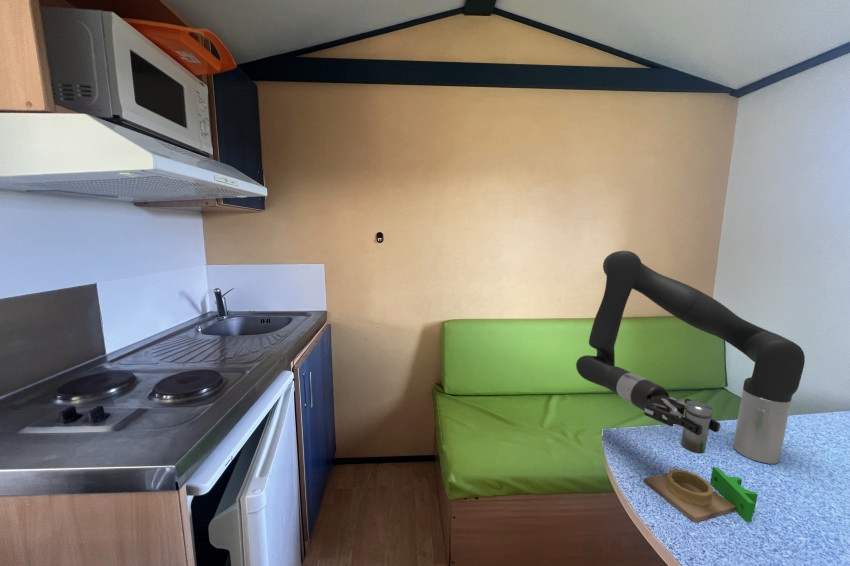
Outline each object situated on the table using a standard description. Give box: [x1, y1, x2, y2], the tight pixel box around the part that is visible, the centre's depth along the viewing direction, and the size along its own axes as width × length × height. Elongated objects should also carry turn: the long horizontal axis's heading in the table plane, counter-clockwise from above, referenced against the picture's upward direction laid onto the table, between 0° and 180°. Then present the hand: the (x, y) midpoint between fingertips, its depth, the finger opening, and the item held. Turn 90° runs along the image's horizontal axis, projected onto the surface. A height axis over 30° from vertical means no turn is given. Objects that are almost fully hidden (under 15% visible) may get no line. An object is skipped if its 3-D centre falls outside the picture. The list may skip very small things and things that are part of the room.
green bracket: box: [709, 466, 759, 523], centre depth 77 cm, size 11×4×5 cm, turn 172°
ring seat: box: [643, 468, 736, 523], centre depth 79 cm, size 12×12×4 cm
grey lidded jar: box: [679, 400, 713, 455], centre depth 77 cm, size 5×5×10 cm
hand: (709, 429), depth 74 cm, fingers closed on grey lidded jar, 4 cm apart
